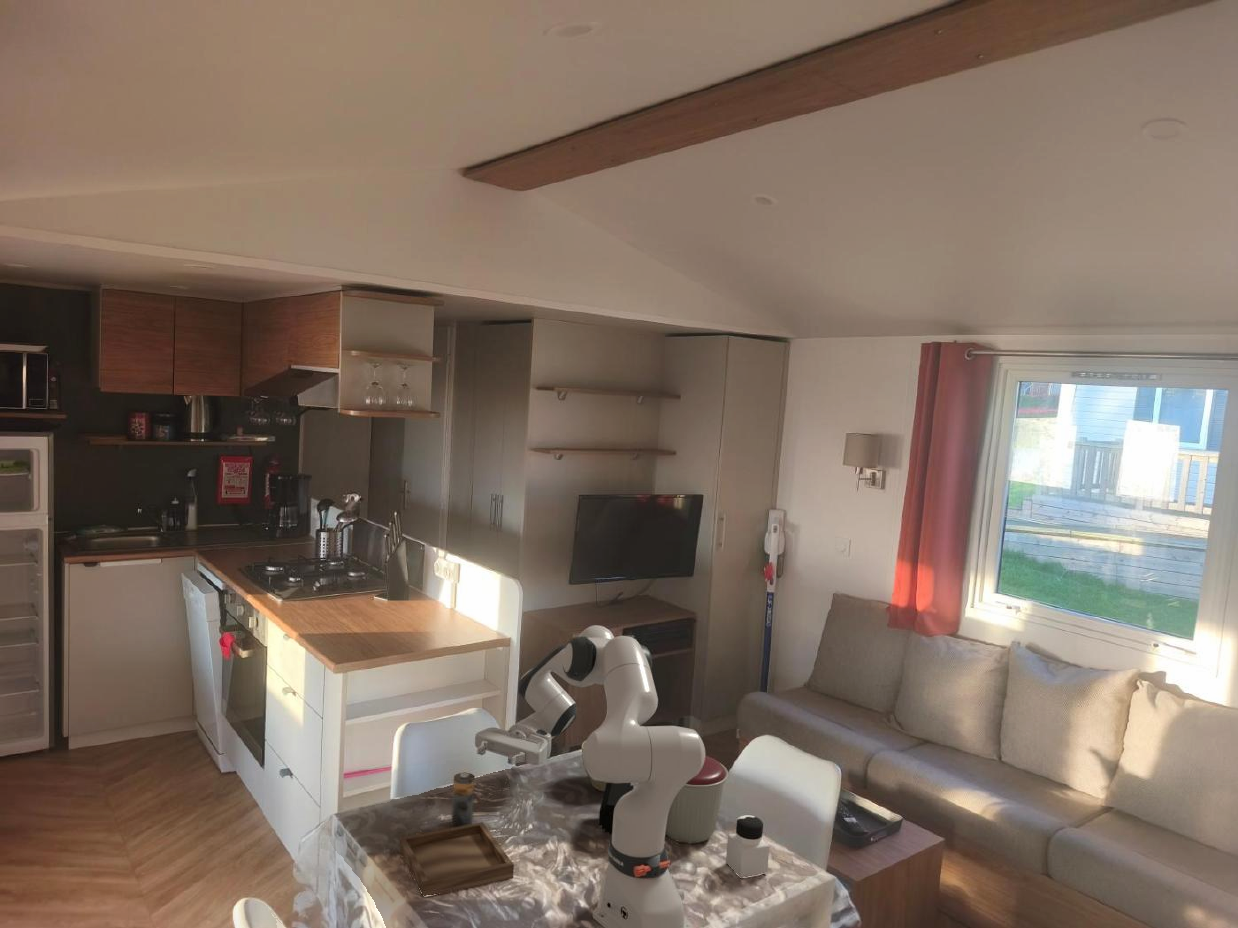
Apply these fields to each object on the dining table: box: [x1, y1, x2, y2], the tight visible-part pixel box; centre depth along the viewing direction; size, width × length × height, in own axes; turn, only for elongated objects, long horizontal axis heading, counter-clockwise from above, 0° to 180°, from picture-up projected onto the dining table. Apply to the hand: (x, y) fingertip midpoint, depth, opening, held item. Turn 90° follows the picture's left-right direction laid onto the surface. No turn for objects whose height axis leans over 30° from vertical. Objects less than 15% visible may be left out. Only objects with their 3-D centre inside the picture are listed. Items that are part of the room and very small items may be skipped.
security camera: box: [598, 783, 634, 835], centre depth 213 cm, size 7×18×10 cm, turn 174°
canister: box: [665, 755, 729, 844], centre depth 212 cm, size 18×18×21 cm
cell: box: [450, 771, 476, 828], centre depth 209 cm, size 5×5×13 cm
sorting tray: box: [398, 821, 515, 896], centre depth 192 cm, size 20×20×3 cm
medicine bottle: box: [725, 814, 770, 878], centre depth 198 cm, size 7×7×12 cm
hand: (494, 756), depth 221 cm, fingers open, 8 cm apart
